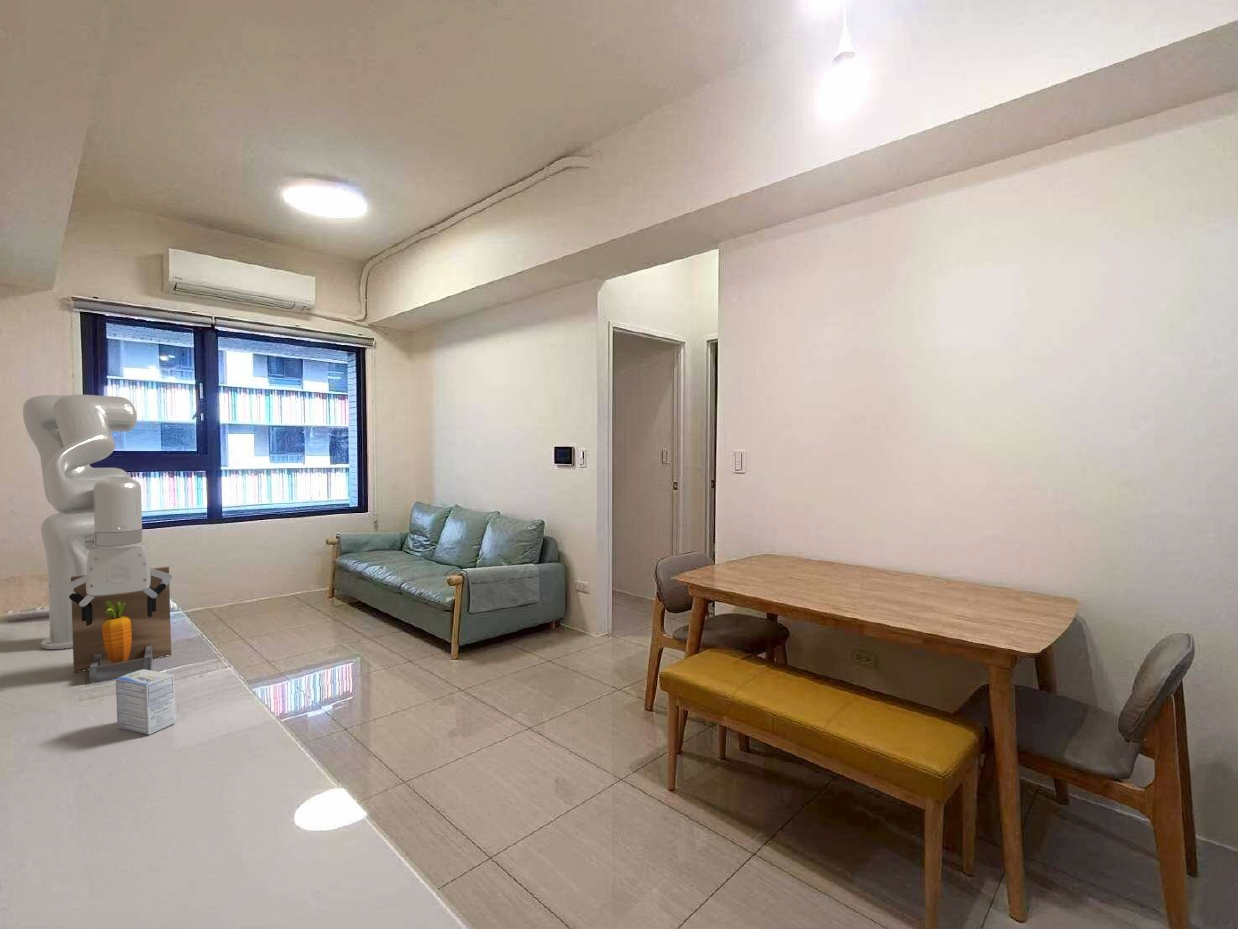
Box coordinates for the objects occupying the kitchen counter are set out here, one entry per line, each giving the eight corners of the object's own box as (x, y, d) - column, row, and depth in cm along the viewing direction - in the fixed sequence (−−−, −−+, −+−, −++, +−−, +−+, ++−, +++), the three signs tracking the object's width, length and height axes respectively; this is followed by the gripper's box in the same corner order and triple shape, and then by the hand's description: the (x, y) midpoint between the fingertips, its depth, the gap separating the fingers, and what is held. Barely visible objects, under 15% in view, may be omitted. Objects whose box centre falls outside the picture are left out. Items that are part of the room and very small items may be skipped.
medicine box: (176, 724, 97) (175, 673, 97) (147, 736, 93) (146, 684, 93) (145, 716, 100) (144, 667, 100) (116, 728, 96) (114, 677, 95)
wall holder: (74, 670, 120) (71, 576, 120) (171, 653, 130) (168, 566, 129) (66, 688, 112) (63, 586, 111) (170, 668, 121) (168, 575, 121)
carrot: (140, 667, 122) (134, 598, 120) (111, 677, 117) (105, 605, 116) (129, 663, 124) (123, 595, 123) (100, 672, 119) (93, 602, 118)
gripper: (58, 545, 111) (60, 632, 112) (171, 537, 122) (172, 616, 123) (64, 540, 117) (66, 622, 118) (171, 532, 128) (172, 608, 128)
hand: (120, 619), depth 120 cm, fingers open, 9 cm apart
